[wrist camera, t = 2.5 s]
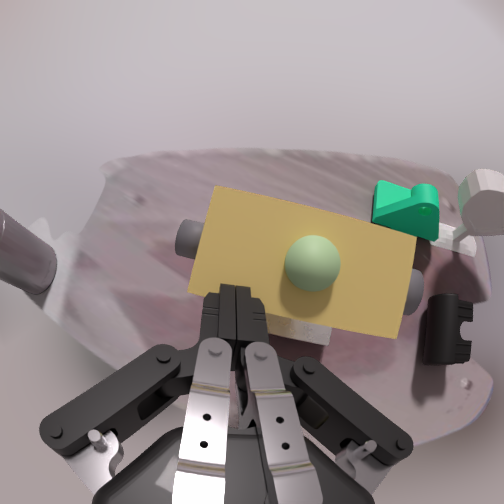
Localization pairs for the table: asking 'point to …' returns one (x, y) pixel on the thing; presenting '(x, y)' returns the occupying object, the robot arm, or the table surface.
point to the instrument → (304, 262)
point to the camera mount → (407, 209)
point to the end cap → (446, 330)
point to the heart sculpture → (475, 212)
